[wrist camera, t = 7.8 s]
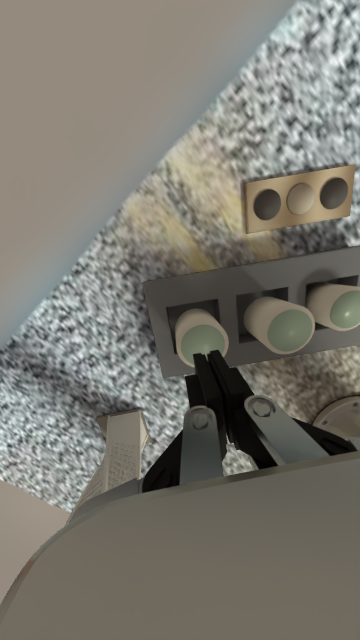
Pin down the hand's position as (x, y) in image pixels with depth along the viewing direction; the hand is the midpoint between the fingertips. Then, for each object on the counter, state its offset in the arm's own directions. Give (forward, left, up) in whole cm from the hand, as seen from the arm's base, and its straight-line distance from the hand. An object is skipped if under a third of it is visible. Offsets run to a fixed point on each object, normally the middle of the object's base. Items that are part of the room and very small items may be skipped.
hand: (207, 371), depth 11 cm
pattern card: (+12, -14, -13) cm, 23 cm away
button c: (0, 0, -9) cm, 9 cm away
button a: (0, -16, -12) cm, 20 cm away
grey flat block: (0, -8, -13) cm, 16 cm away
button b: (0, -8, -9) cm, 13 cm away
